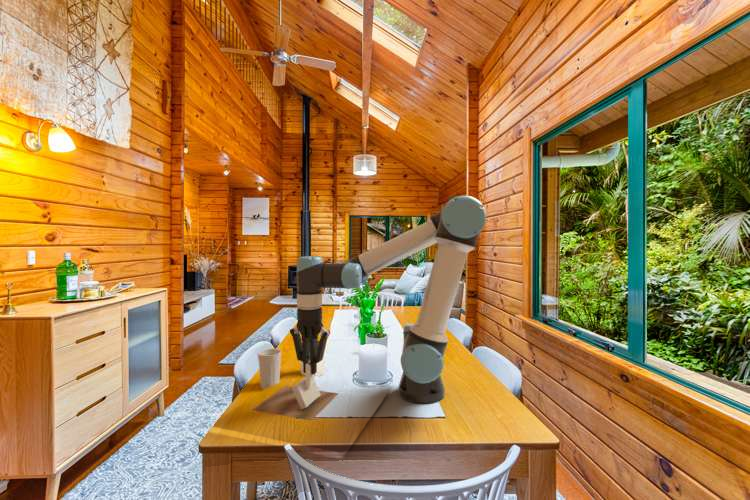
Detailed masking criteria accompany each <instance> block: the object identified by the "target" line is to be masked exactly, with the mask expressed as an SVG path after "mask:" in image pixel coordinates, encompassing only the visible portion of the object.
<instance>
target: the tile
mask: <svg viewBox="0 0 750 500" xmlns="http://www.w3.org/2000/svg"><path fill="white" fill-rule="evenodd" d="M291 387H292V389H293V392H294V394H295V396H296V399H297V401H298V404H299V406H300V408H301V409H304V408H306V407H308V406H309V405H310V404H311V403H312V402H313V401H314V400H315V399H317V398H318V397H319V396H320V395H321V394H320V392H319V391H320V390H319V387H318V385H317V383H316V381H315V379H314V383H313V384H312V385H311V386H306V376H305V377H304V378H302V379H301V380H299V381H298V382H296V384H294V385H293V386H291Z"/></svg>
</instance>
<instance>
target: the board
mask: <svg viewBox="0 0 750 500" xmlns="http://www.w3.org/2000/svg"><path fill="white" fill-rule="evenodd" d="M292 387H293V386H290V385H285V386H284V387H282V388H281V389H278V391H276V392H274V393H273V394H272V395H271V396H269V397H268V398H266V399H264V401H262V402H260V403H259V404H257V405H256V406H254V407H253V408H251V410H252V411H256V412H262V413H268V414H273V415H278V416H279V415H280V416H284V417H291V418H296V419H301V420H307V421H313V420H314V419H315V418H316V417H317V416H318V415H319V413H321V412H322V411H323V410H324V409H325V408H326V406H328V405H329V404H330V403H331V402H332V401H333V400H334V399H335V398H336V397H337V396H338V395H339V393H338V392H337V393H336V392H330V391H325V390H324V391H323V390H319V392H320V394H321V395H320V396H319V397H318V398H317V399H315V400H314V401H313V402H312V403H311V404H310V405H309V406H308V407H306V408H304V409H301V408H300V406H299V404H298V401H297V399H296V396H295V394H294V392H293V389H292Z"/></svg>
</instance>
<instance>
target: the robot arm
mask: <svg viewBox="0 0 750 500" xmlns="http://www.w3.org/2000/svg"><path fill="white" fill-rule="evenodd" d="M486 222H487V212H486V208H485V207H484V205H483V203H481V201H479V199H477V198H475V197H474V196H470V195H458V196H457V195H456V196H455V197H453V198H451V199H449V200H448V201H447V202H446V203H445V205H444V206H443V208H442V209H441V210H439V211H438V212H436V213H435V214H433V215H431V216H429V217H428V218H427V220H426V221H425V222H424V223H422V224H420V225H418V226H416V227H414V228H411V229H409V230H406V232H403V233H401V234H399V235H397V236H395V237H393V238H390V239H389V240H387V241H385V242H383V243H381V244H378V245H376V246H375V247H373V248H371V249H369V250H367V251H364V252H362V253H360V254H359V255H356V256H355V257H353V258H350V259H349V260H346V261H343V262H339V263H337V262H335V263H331V262H330V263H329V262H328V263H327V262H323V258H322V257H321V256H314V255H313V256H311V255H310V256H308V255H307V256H300V257H298V258H297V261H296V307H297V309H296V320H297V323H296V326H294V327H293V328H291V329H289V334H290V335H291V337H292V340H293V345H294V351H295V355H296V359H297V361H298V362H301V361H302V362H303V372H304V373H306V375H305V377H306V386H311V385H312V384H313V383H314V380H315V376H314V374H315V373H316V372H317V363H319V362H320V361H321V360H322V359H323V355H325V354H324V353H325V350H326V347H327V346H326V345H327V341H328V338H329V337H330V334H331V331H330V330H327V329H325V328H324V324H323V308H322V305H323V289H347V290H350V289H358V288H360V287H361V285H362V281H363V280H362V279H364V278H366V277H368V276H370V275H372V274H375V273H376V272H378V271H381V270H383V269H385V268H387V267H389V266H391V265H394V264H395V263H398V262H400V261H402V260H403V259H405V258H408V257H411V256H412V255H414V254H416V253H418V252H421V251H423V250H424V249H426V248H429V247H431V246H434V245H435V244H438V247H437V249H436V253H435V255H434V260H433V264H432V266H431V270H430V273H429V278H428V281H427V285H426V288H425V291H424V294H423V298H422V301H421V305H420V309H419V312H418V314H417V315H418V316H417V319H416V323H407V324H405V325H404V326H403V331H402V334H403V346H402V350H401V351H402V352H401V356H400V364H401V369H402V374H401V377H400V379H399V383H398V395H399V396H400V397H401V398H402V399H404V400H406V401H408V402H412V403H416V404H417V403H418V404H431V403H432V404H433V403H436V402H440V401H441V400H442V399H443V398H444V397H445V393H446V390H445V386H444V384H445V383H444V382H443V378H442V375H441V374H442V371H443V369H444V363H445V362H444V355H445V352H446V350H447V345H448V343H449V338H448V336H447V334H446V330H447V326H448V323H449V320H450V315H451V312H452V309H453V306H454V303H455V298H456V295H457V293H458V289H459V285H460V281H461V280H462V279H461V278H462V275H463V272H464V268H465V264H466V261H467V258H468V254H469V253H470V252H472V251H474V250H475V249H476V246H477V243H478V239H479V237H480V233H481V232H482V230H483V229H484V227H485V225H486ZM319 335H320V338H319ZM318 339H319V340H318ZM317 341H320V342H319V346H318V351H317ZM309 361H310V362H309Z"/></svg>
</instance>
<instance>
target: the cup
mask: <svg viewBox="0 0 750 500" xmlns="http://www.w3.org/2000/svg"><path fill="white" fill-rule="evenodd" d="M257 358H258V359H257V360H258V365H259V377H260V378H259V379H260V388H261V389H262V390H267V389H268V388H270V387H271V386H272V387H273V386H276V385H278V384H279V383H280V379H281V377H280V376H281V375H280V374H281V361H282V350H281V349H279V348H265V349H262V350H259V351H258V352H257Z"/></svg>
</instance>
